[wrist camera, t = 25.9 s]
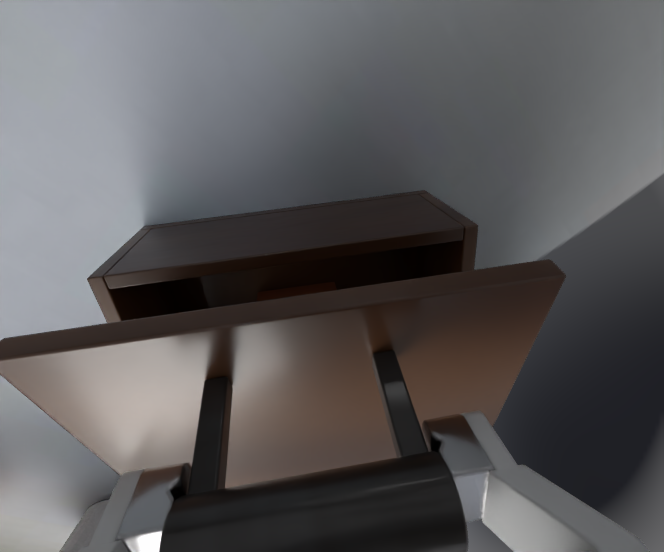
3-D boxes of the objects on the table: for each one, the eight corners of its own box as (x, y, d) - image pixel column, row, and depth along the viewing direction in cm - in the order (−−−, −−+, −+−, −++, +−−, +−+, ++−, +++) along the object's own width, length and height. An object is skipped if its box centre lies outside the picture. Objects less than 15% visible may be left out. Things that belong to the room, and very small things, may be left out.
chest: (143, 226, 19) (85, 278, 13) (425, 189, 20) (478, 224, 14) (218, 436, 26) (200, 525, 21) (420, 402, 27) (454, 479, 22)
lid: (0, 337, 9) (-231, 658, 5) (551, 257, 10) (759, 467, 6) (200, 525, 20) (182, 675, 16) (455, 479, 21) (503, 608, 17)
